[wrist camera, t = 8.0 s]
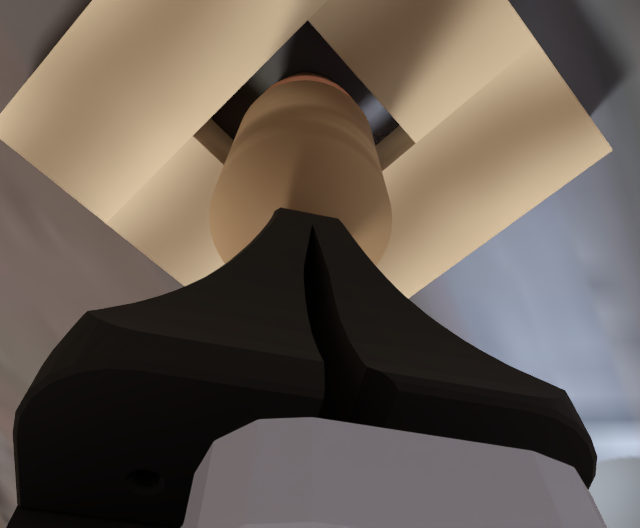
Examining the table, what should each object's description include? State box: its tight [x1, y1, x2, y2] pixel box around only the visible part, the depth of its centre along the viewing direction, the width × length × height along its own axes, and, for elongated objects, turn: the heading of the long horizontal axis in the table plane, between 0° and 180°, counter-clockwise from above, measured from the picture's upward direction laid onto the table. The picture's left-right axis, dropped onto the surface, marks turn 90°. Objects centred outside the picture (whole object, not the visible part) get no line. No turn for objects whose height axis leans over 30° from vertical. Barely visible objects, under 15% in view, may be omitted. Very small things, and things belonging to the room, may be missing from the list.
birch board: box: [0, 0, 613, 298], centre depth 20 cm, size 14×14×2 cm
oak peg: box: [209, 72, 392, 266], centre depth 17 cm, size 4×4×9 cm
